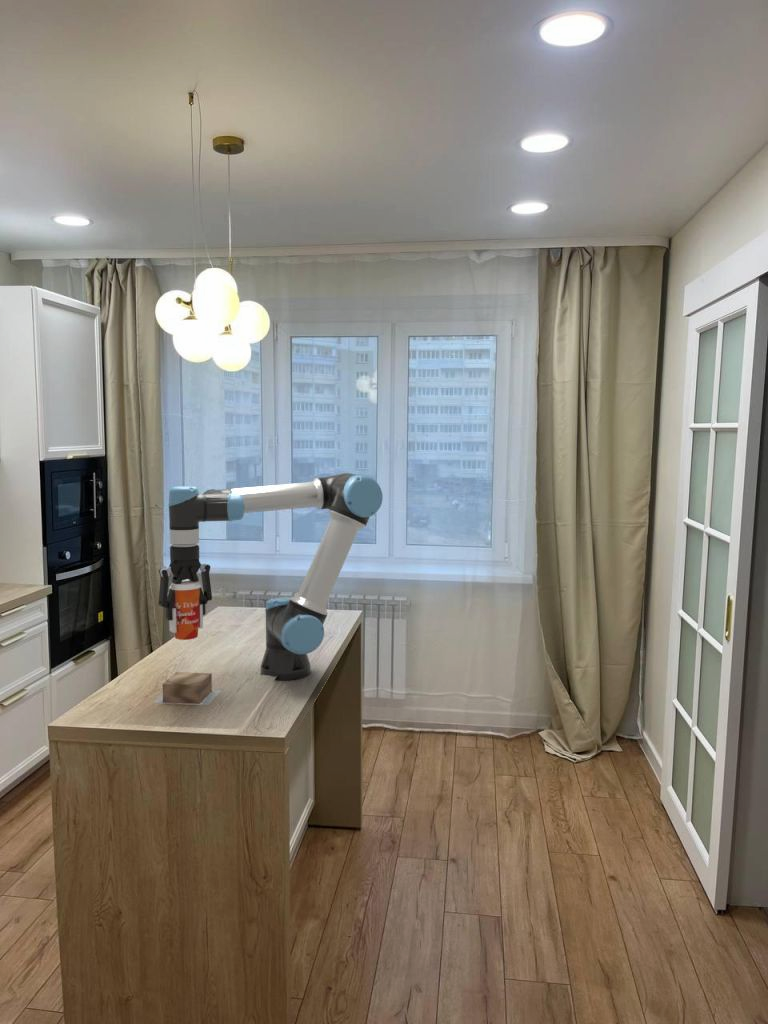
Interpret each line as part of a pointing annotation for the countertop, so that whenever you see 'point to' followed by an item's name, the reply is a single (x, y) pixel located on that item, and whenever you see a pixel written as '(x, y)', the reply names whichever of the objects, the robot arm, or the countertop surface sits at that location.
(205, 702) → the build plate
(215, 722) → the countertop surface
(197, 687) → the pedestal
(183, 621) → the coffee cup
